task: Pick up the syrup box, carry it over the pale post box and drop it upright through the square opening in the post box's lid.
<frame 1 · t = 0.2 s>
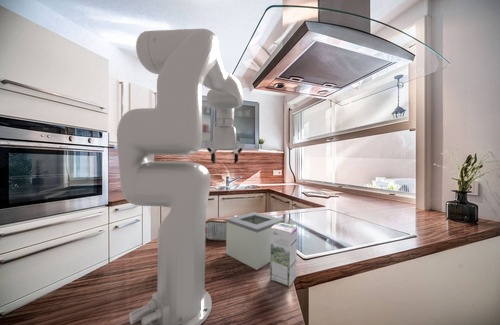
hand: (224, 163, 86), 31 cm above the countertop, tool pointing down, fingers open, 9 cm apart
tin: (220, 240, 79), on the countertop
syrup box: (283, 279, 53), on the countertop
post box: (254, 254, 67), on the countertop
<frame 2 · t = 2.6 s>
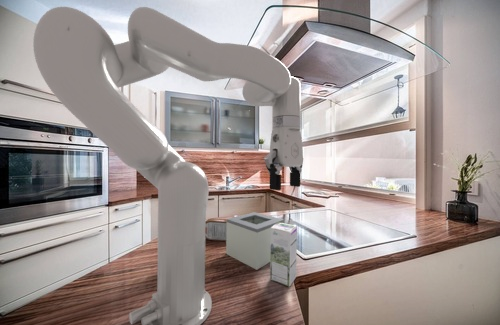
hand: (285, 187, 53), 25 cm above the countertop, tool pointing down, fingers open, 9 cm apart
nothing on the countertop moved.
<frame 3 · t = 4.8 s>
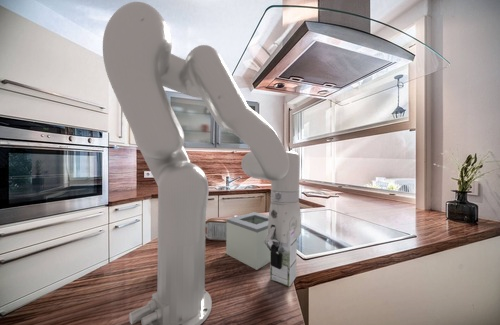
hand: (283, 261, 53), 5 cm above the countertop, tool pointing down, fingers closed on syrup box, 6 cm apart
syrup box: (283, 279, 53), on the countertop, touching gripper
everything else where it was.
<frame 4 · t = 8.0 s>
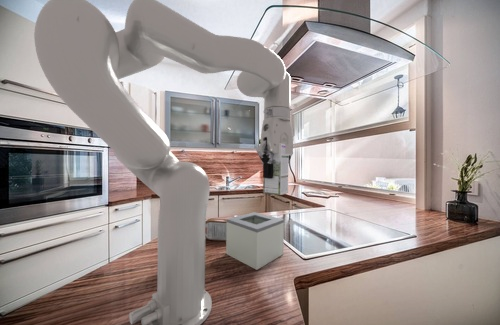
hand: (275, 177, 57), 28 cm above the countertop, tool pointing down, fingers closed on syrup box, 6 cm apart
syrup box: (275, 193, 57), point 23 cm above the countertop, touching gripper
everything else where it was.
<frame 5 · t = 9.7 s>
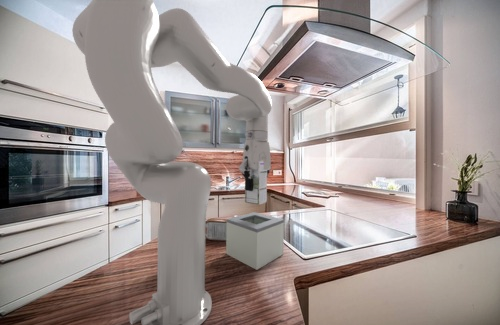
hand: (256, 189, 67), 22 cm above the countertop, tool pointing down, fingers closed on syrup box, 6 cm apart
syrup box: (255, 203, 67), point 18 cm above the countertop, touching gripper
everything else where it was.
when the fingers open (17 cm above the countertop, at t = 11.1 s): syrup box drops 13 cm, resting in post box.
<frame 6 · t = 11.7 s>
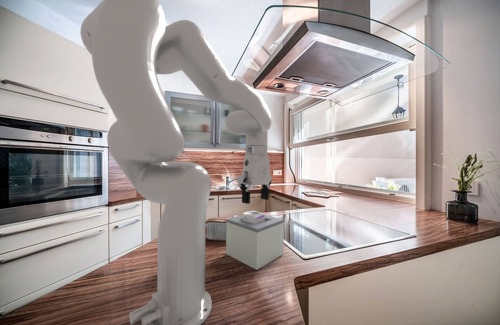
hand: (255, 201, 67), 18 cm above the countertop, tool pointing down, fingers open, 9 cm apart
syrup box: (253, 255, 67), resting in post box
everything else where it was.
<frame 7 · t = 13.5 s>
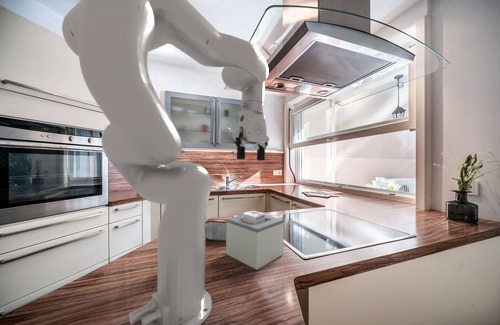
hand: (251, 159, 66), 33 cm above the countertop, tool pointing down, fingers open, 9 cm apart
nothing on the countertop moved.
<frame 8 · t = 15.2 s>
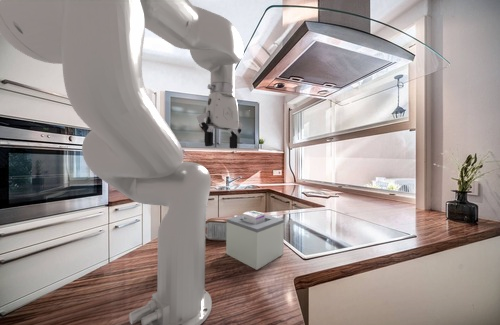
hand: (221, 147, 61), 36 cm above the countertop, tool pointing down, fingers open, 9 cm apart
nothing on the countertop moved.
at the end: syrup box inside the target area on the post box (1.0 cm from its centre), point 0.0 cm above the post box's base; syrup box tilted 0°; the gripper is holding nothing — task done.
